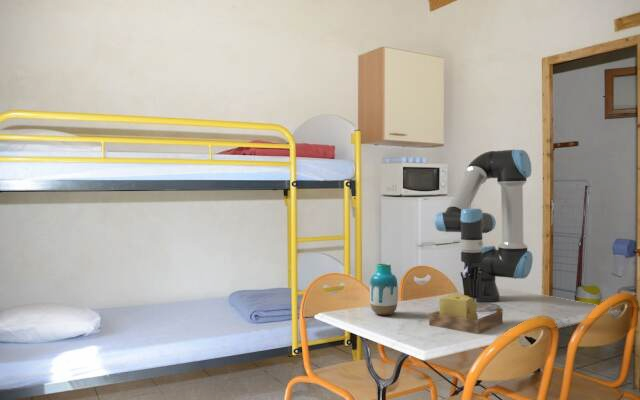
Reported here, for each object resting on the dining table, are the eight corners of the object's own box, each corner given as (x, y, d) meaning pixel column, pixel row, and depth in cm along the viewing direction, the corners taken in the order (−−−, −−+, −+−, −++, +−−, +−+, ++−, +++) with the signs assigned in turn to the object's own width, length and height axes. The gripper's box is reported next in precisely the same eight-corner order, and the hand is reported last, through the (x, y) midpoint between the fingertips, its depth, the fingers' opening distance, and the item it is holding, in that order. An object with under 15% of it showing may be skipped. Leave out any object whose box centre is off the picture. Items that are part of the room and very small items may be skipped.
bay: (429, 325, 187) (429, 310, 187) (456, 315, 201) (456, 302, 201) (477, 333, 175) (477, 317, 175) (502, 323, 189) (502, 308, 189)
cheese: (477, 323, 189) (477, 295, 189) (466, 330, 180) (466, 300, 180) (449, 319, 195) (449, 292, 195) (437, 325, 186) (437, 297, 186)
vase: (378, 310, 211) (378, 262, 211) (402, 313, 205) (402, 264, 205) (364, 315, 203) (364, 264, 203) (389, 318, 197) (389, 266, 197)
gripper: (473, 253, 186) (473, 320, 186) (489, 250, 195) (489, 314, 195) (453, 251, 191) (454, 317, 191) (470, 249, 200) (470, 311, 200)
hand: (472, 316), depth 193 cm, fingers closed
